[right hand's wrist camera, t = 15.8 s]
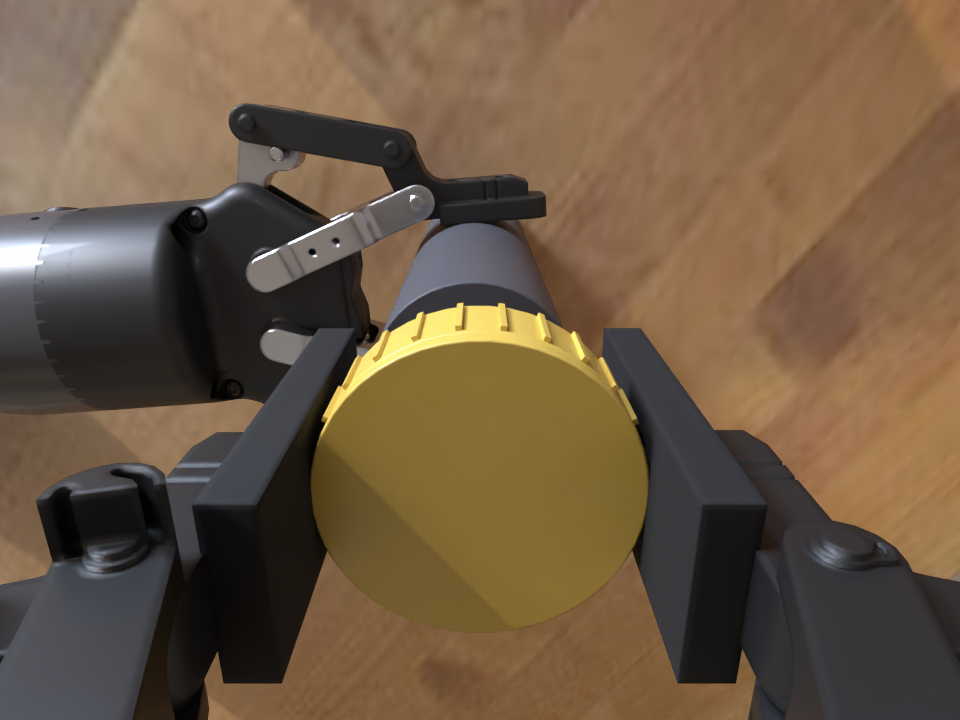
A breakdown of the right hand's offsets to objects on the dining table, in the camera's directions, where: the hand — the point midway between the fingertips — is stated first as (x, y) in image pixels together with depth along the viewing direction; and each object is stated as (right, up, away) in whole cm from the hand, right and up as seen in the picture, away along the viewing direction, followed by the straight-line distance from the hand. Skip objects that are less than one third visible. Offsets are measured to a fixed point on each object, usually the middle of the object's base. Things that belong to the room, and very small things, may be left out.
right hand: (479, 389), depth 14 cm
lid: (0, -1, -4) cm, 4 cm away
